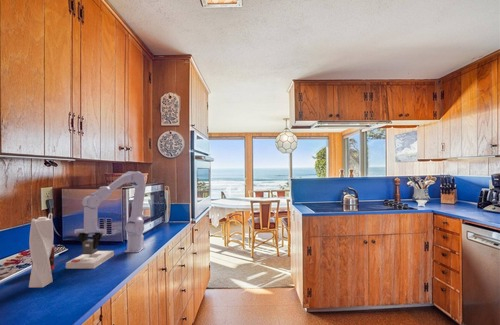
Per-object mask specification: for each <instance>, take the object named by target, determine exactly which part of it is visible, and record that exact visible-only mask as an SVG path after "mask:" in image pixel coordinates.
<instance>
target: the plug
mask: <svg viewBox="0 0 500 325" xmlns="http://www.w3.org/2000/svg"><path fill="white" fill-rule="evenodd" d="M93 245H94V242H93V238H92V239H91V238H88V240H86V241H83V246H82V254H94V253H95V252H97V251H98V247H97V248H96V249H94V247H93Z"/></svg>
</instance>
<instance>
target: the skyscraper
mask: <svg viewBox="0 0 500 325" xmlns="http://www.w3.org/2000/svg"><path fill="white" fill-rule="evenodd" d="M53 224H54V223H53V213H52V212H50V213H49V214H48V216H40V217H37V219H35V218H34V217H33V218H32V219H31V223H30V230H29V242H28V245H29V254H30V257H31V271H30V277H29V283H28V288H45V287H46V286H47V285H49V284H51V283H53V274H52V271H51V266H50V261H49V257H50V254H51V250H52V246H53V244H54V225H53ZM32 262H33V264H32Z"/></svg>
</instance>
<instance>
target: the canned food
mask: <svg viewBox="0 0 500 325" xmlns="http://www.w3.org/2000/svg"><path fill="white" fill-rule="evenodd" d="M49 261H50V266H51V272H53V270H54V269H55V244H54V243H53V246H52V250H51V254H50V257H49ZM32 264H33V262H32V261H31V265H32Z"/></svg>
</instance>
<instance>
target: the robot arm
mask: <svg viewBox="0 0 500 325" xmlns="http://www.w3.org/2000/svg"><path fill="white" fill-rule="evenodd" d="M125 184H130V185H131V186H132V187H133V188H134V193H133V198H132V206H131V213H130V217H129V218H128V219H127V221H126V224H125V226H124V230H125V232H126V233H127V234H126V235H127V249H126V250H124V253H140V252H141V251H142V250H144V249H145V248H146V246H144V238H145V236H144V234H143V233H144V231H145V225H144V222H145V220H144V219H143V217H142V214H143V207H144V200H145V195H146V194H145V193H146V188H147V187H146V182H145V175H144V174H143V173H142V172H141V171H138V170H137V171H130V170H129V171H126V172H124V173H123V174H121V175H120V176H119V177H118V178H117V179H115V180H114V181H113V182H111V183H110V184H108V186H106V185H103V186H100V187H99V188H98V189H97V190H96V191H95V192H91V193H90V195H87V196H85V197H83V200H82V201H81V205H82V206H83V228H76V229H74V235H77V234H78V235H77V238H78V239H79V241H80V242H81V246H82V247H83V241H86V240H88V239H89V234H92V235H91V237H92V239H93V242H94V245H93V247H94V249H96V248H97V249H98V246H99V243H100V241H101V239H102V237H103V235H105V234H107V228H98V208H99V207H100V205H101V203H102V202H103V201H104V200H106V199H107V198H108V197H110V196H112V193H113V191H115V190H116V189H118V188H119V187H121V186H123V185H125Z"/></svg>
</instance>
